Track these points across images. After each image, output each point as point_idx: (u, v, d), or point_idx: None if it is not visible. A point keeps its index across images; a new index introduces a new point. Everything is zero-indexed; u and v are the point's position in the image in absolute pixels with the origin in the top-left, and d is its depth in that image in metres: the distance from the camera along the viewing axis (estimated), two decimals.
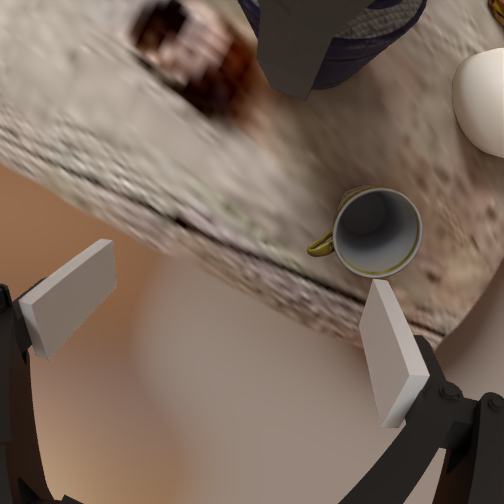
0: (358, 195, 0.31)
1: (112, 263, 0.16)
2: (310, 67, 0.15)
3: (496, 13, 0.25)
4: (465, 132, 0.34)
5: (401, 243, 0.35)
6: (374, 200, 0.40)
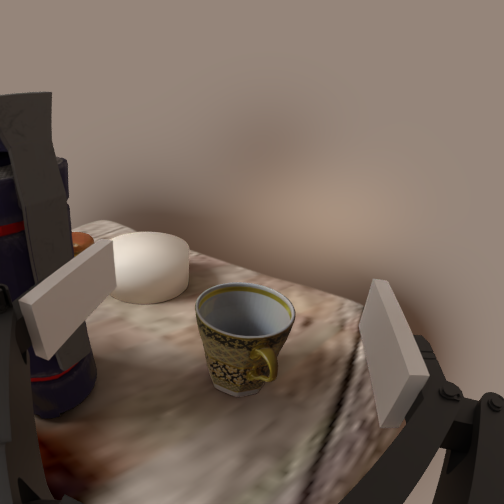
0: (200, 317, 0.30)
1: (112, 263, 0.16)
2: (57, 180, 0.19)
3: None
4: (166, 297, 0.49)
5: (261, 313, 0.37)
6: None
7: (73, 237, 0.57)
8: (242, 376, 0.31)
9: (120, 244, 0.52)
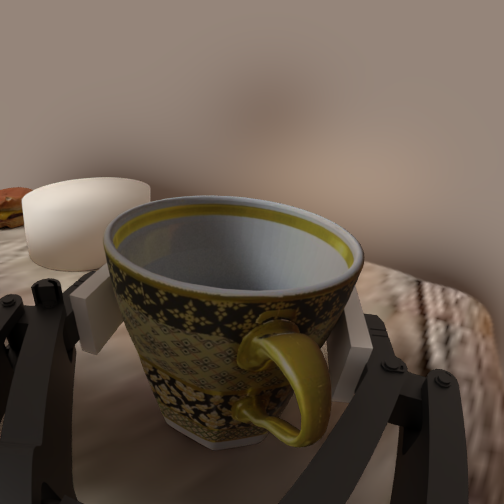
0: (106, 239, 0.10)
1: None
2: None
3: (9, 221, 0.35)
4: None
5: (276, 266, 0.17)
6: None
7: (11, 191, 0.37)
8: (220, 411, 0.11)
9: (55, 189, 0.32)
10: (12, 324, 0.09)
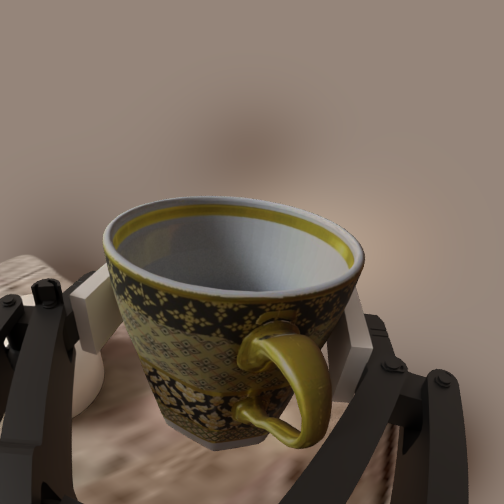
0: (106, 240, 0.10)
1: None
2: None
3: None
4: None
5: (277, 266, 0.17)
6: None
7: None
8: (221, 412, 0.11)
9: None
10: (12, 324, 0.09)
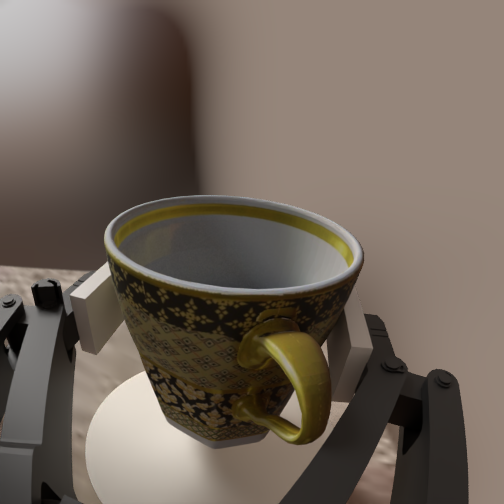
0: (108, 239, 0.10)
1: None
2: None
3: None
4: None
5: (277, 265, 0.17)
6: None
7: None
8: (221, 410, 0.11)
9: None
10: (12, 324, 0.09)
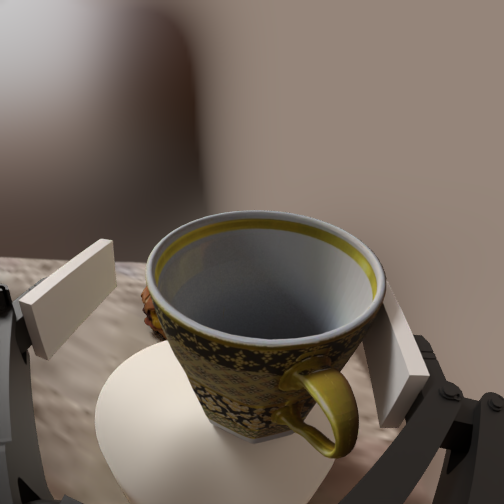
0: (151, 285, 0.11)
1: (112, 263, 0.16)
2: None
3: None
4: None
5: (303, 274, 0.18)
6: None
7: None
8: (262, 418, 0.13)
9: None
10: None
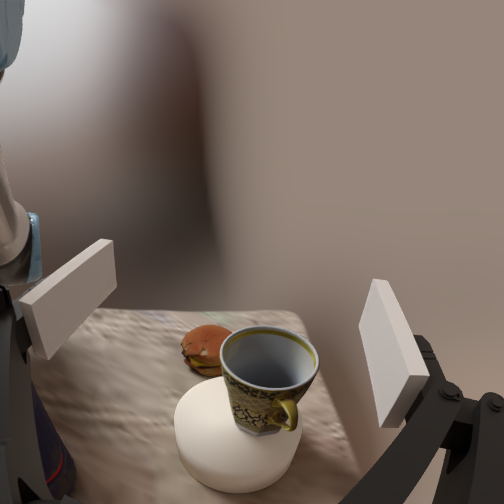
0: (224, 365, 0.29)
1: (112, 263, 0.16)
2: None
3: (199, 369, 0.48)
4: (219, 488, 0.30)
5: (286, 356, 0.36)
6: None
7: (213, 339, 0.51)
8: (263, 420, 0.30)
9: (222, 393, 0.38)
10: None
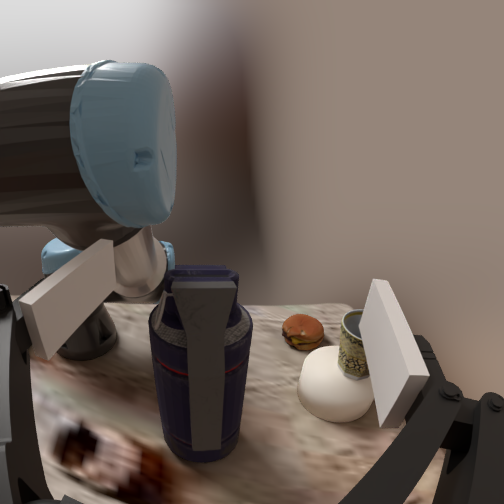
0: (349, 332, 0.49)
1: (112, 263, 0.16)
2: (219, 365, 0.30)
3: (298, 346, 0.68)
4: (334, 419, 0.50)
5: None
6: None
7: (306, 323, 0.71)
8: (366, 366, 0.50)
9: (328, 357, 0.58)
10: None
